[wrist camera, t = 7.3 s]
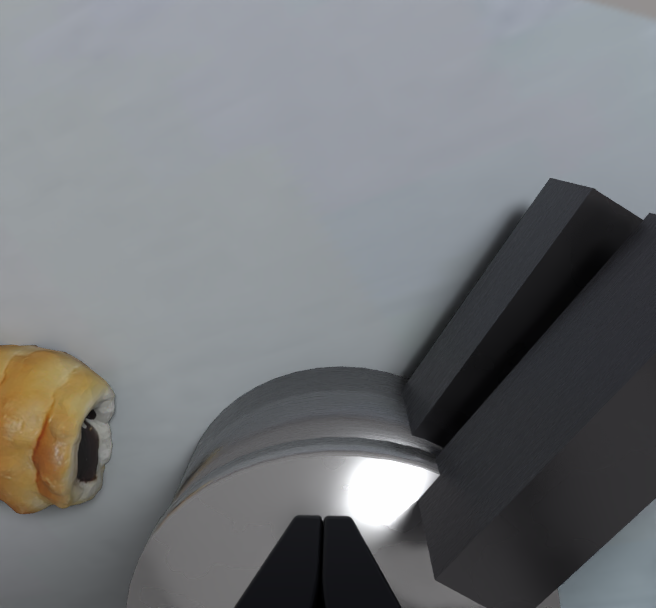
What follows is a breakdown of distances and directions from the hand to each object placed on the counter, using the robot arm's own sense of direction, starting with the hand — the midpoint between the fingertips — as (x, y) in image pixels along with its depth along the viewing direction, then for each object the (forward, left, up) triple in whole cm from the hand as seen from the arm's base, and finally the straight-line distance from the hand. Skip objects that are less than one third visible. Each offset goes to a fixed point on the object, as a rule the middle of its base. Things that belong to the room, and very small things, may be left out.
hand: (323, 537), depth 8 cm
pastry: (+9, +11, -13) cm, 19 cm away
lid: (-6, +4, -7) cm, 10 cm away
